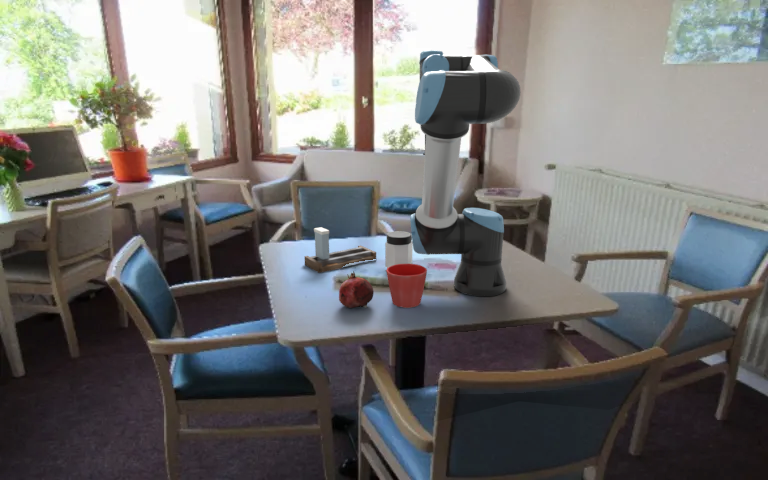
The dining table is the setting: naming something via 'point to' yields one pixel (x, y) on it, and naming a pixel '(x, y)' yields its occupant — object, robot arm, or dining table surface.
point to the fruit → (355, 292)
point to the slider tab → (321, 243)
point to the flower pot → (406, 284)
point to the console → (340, 259)
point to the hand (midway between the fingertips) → (428, 174)
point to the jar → (398, 248)
